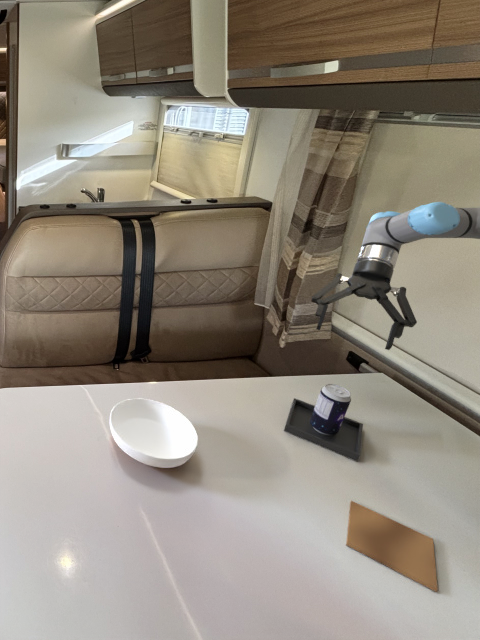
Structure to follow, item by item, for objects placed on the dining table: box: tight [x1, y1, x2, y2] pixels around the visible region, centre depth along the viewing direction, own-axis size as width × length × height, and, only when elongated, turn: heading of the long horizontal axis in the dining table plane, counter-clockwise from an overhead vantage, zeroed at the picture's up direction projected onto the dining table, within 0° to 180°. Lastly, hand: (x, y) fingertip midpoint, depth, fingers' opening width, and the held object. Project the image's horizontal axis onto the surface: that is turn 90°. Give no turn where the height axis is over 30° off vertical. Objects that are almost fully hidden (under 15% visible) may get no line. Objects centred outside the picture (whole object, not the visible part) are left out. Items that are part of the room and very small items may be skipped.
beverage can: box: [310, 383, 352, 435], centre depth 105 cm, size 6×6×12 cm
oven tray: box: [283, 398, 364, 463], centre depth 107 cm, size 14×13×2 cm
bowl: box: [109, 397, 199, 469], centre depth 102 cm, size 20×20×6 cm
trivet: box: [345, 500, 439, 593], centre depth 81 cm, size 12×12×1 cm
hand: (352, 337), depth 108 cm, fingers open, 13 cm apart
